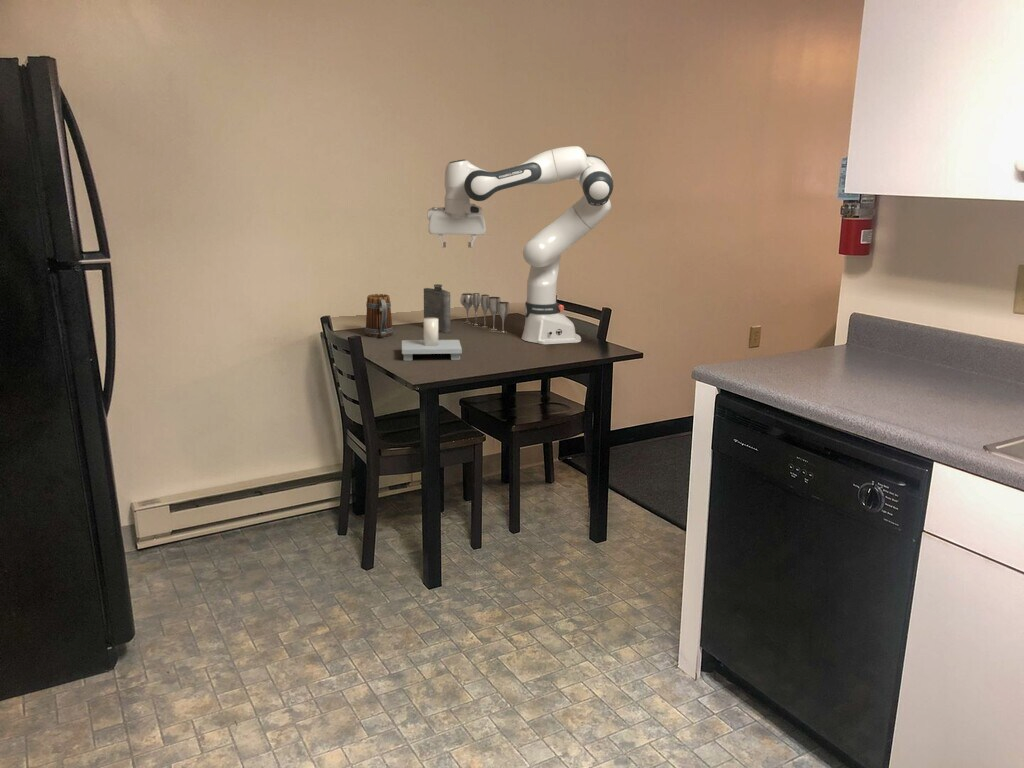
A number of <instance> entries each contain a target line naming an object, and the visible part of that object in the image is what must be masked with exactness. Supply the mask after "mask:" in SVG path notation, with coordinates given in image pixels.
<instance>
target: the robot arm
mask: <svg viewBox="0 0 1024 768" xmlns="http://www.w3.org/2000/svg"><path fill="white" fill-rule="evenodd" d="M567 180H577V181H578V182H579V185H580V187H581V188H582V192H583V194H582V197H581V198H580V199H579V200H577V201H576V202H575V203H573V204H572V205H571V206H570V207H569V208H567V210H565V211H564V212H563V213H562V214H561V215H560V216H558V217H557V218H556V219H554V220H553V221H552V222H551V223H549V224H548V225H546V227H544V228H543V229H541V230H540V231H539V232H538V233H536V234H535V235H534V236H532V238H530V239H529V240H528V241H527V242H526V243H525V245H524V248H523V251H522V255H523V259H524V261H525V262H526V263H527V265H529V266H530V268H529V274H528V278H527V280H526V282H527V283H526V301H525V304H524V316H525V321H524V326H523V332H522V335H521V340H523V341H525V342H530V343H536V344H540V345H557V344H558V345H561V344H577V343H580V342H581V341H582V337H581V336H580V334H577V333H576V327H575V325H574V323H573V321H572V320H571V319H569V318H568V317H567V316H566V315H564V313H562V311H564V309H565V307H564V304H563V305H562V304H560V303H558V302H557V283H558V276H559V271H560V264H561V263H560V262H561V257H562V256H561V255H562V254H563V253H564V252H566V250H568V249H569V248H570V247H572V246H574V245H575V244H576V243H578V242H579V241H580V240H581V239H582V238H583V237H585V236H587V234H588V233H589V232H591V231H592V230H593V229H595V228H596V226H598V225H599V224H600V223H601V222H602V221H603V219H605V217H607V215H608V214H609V213H610V212H611V209H612V202H611V200H610V197H611V196H612V194H613V189H614V180H613V176H612V173H611V169H609V167H608V165H607V163H606V162H605V160H604V159H603V158H602V157H599V156H598V155H593V154H591V155H590V154H587V153H586V151H585V150H584V149H583V147H581V146H577V145H569V146H562V147H558V148H557V147H555V148H553V149H548V150H545V151H543V152H540V153H538V154H536V155H534V156H532V157H530V158H529V159H527V160H526V161H524V162H523V163H521V164H517V165H515V166H512V167H508V168H504V169H500V170H497V171H488V170H485V169H482V168H480V167H478V166H476V165H474V164H472V163H471V162H470V161H469V160H468V159H457V160H454V161H453V160H452V161H450V162H448V163H447V165H446V166H445V170H444V190H445V196H444V207H442V206H441V207H440V206H439V207H435V206H434V207H431V208H429V209H427V210H428V211H427V214H426V215H427V220H428V221H429V222H428V230H427V231H428V233H429V235H438V236H437V237H438V239H439V240H440V242H441V248H446V247H447V242H446V241H443V237H444V236H443V235H464V236H466V235H471V240H470V241H468V242H467V247H468V248H469V249H470V248H472V249H473V243H474V241H475V240H476V238H477V236H480V235H481V236H482V235H485V234H486V232H487V230H486V229H487V228H486V227H487V226H486V219H485V217H484V215H483V214H482V213H483V208H482V207H481V206H480V205H477V204H475V203H471V200H473V201H476V202H482V201H486V200H489V198H491V197H492V196H493V195H494V194H495V193H497V192H499V191H502V190H506V189H510V188H514V187H517V186H522V185H549V184H555V183H560V182H562V181H563V182H564V181H567ZM470 199H471V200H470ZM476 235H477V236H476Z"/></svg>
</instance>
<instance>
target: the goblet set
mask: <svg viewBox="0 0 1024 768" xmlns="http://www.w3.org/2000/svg"><path fill="white" fill-rule="evenodd" d="M501 300H502V299H501V297H500V296H490V295H489V294H480V293H479V292H478V293H477V292H474V293H470V292H469V293H468V292H466V293H465V292H463V293H461V296H460V304H461V306H463V307H464V308H465V311H466V322H469V317H468V316H469V311H470V309H471V307H472V306H473V308H474V314H475V315H474V316H475V319H477V316H478V309H479V307H481V309H482V312H483V318H484V319H483V321H484V322H483V323H484V325H483V327H487V326H486V314H487V311H488V310H489V312H490V314H491V315H492V319H493V322H492V323H493V326H492V327H493V328H490V329H491V330H497V329H498V328H495V322H496V321H495V320H496V315H497V314H498V315H499V316H500V319H501V320H502V321H501V322H502V330H501V332H503V333H504V332H505V330H504V327H505V326H504V325H505V324H504V323H505V320H506V317H507V316H508V314H509V313H510V302H508V301H501ZM473 324H474V325H478V324H479V323H477V322H474V323H473Z"/></svg>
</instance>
